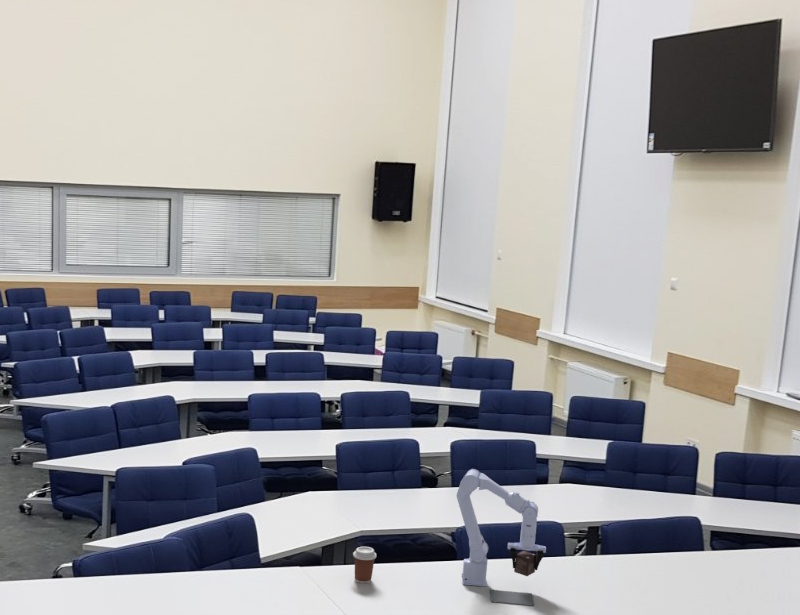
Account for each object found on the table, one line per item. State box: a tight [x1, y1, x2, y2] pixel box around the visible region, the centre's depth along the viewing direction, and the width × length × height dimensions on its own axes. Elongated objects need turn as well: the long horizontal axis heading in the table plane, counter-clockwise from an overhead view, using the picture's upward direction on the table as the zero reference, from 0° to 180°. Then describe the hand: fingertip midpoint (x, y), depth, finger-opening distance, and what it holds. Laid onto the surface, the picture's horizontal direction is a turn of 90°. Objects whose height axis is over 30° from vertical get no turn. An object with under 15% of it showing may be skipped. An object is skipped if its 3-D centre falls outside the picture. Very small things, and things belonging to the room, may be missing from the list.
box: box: [513, 550, 536, 577], centre depth 373 cm, size 6×6×7 cm
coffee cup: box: [352, 546, 377, 584], centre depth 370 cm, size 9×9×12 cm
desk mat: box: [489, 589, 535, 607], centre depth 364 cm, size 16×11×1 cm
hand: (524, 568), depth 373 cm, fingers closed on box, 7 cm apart
